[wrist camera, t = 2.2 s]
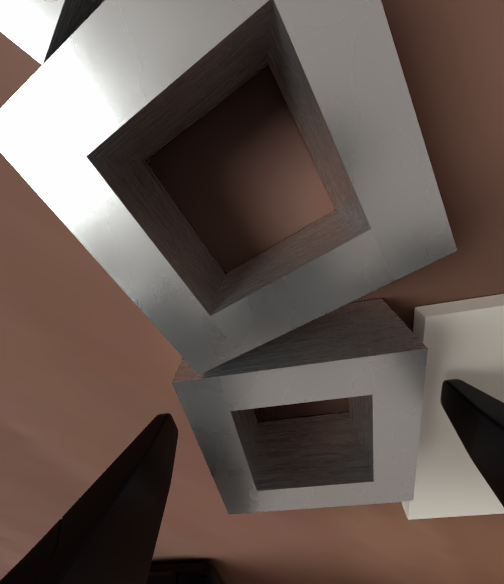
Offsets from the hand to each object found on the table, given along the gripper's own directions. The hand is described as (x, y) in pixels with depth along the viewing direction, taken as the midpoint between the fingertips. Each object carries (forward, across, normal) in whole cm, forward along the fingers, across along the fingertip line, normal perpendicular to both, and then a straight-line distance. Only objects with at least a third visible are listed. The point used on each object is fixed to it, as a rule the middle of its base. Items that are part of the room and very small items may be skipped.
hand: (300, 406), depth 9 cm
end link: (+1, 0, 0) cm, 1 cm away
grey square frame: (+1, 0, -7) cm, 7 cm away
